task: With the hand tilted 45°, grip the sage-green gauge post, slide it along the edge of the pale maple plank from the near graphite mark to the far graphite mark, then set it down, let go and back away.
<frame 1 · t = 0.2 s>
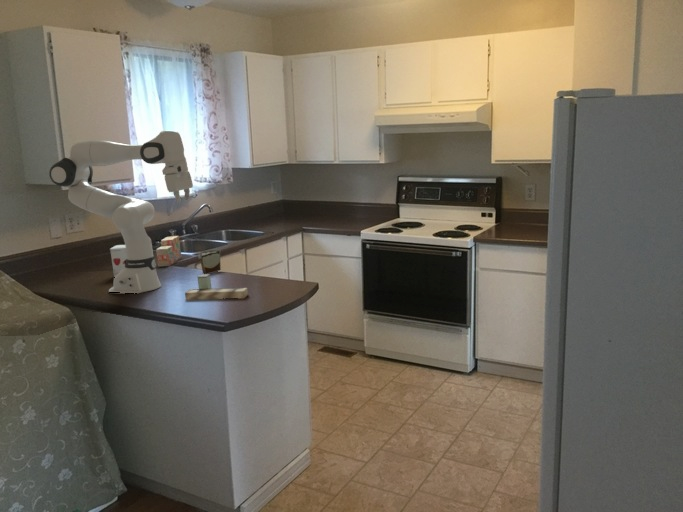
hand: (183, 200, 259), 39 cm above the worktop, tool pointing down, fingers open, 8 cm apart
maple plank: (216, 297, 248), on the worktop
food container: (209, 272, 295), on the worktop
gauge post: (205, 293, 255), on the worktop
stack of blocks: (170, 262, 325), on the worktop
supplement box: (126, 276, 299), on the worktop
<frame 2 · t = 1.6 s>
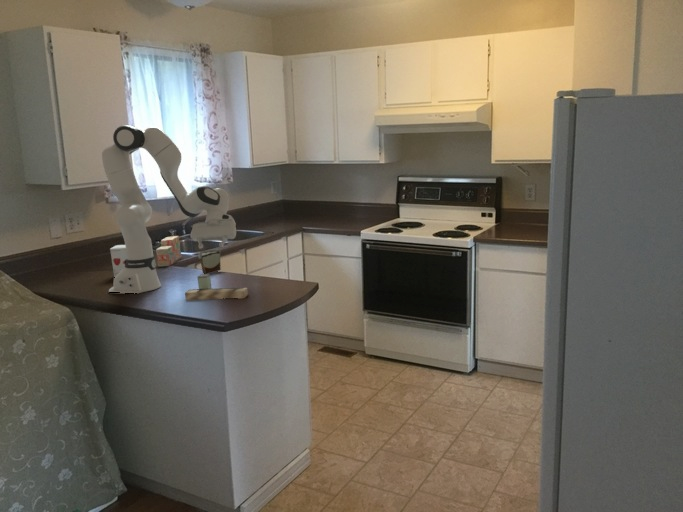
hand: (210, 247, 262), 18 cm above the worktop, tool tilted 45°, fingers open, 8 cm apart
nothing on the worktop moved.
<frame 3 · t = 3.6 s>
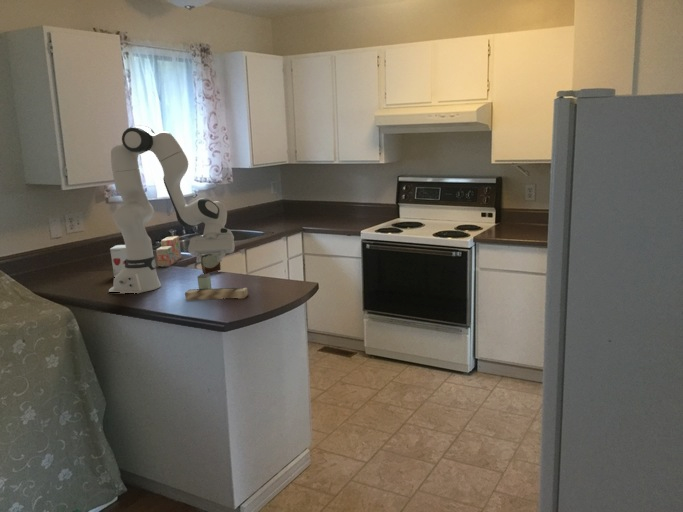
hand: (208, 261, 259), 12 cm above the worktop, tool tilted 45°, fingers open, 8 cm apart
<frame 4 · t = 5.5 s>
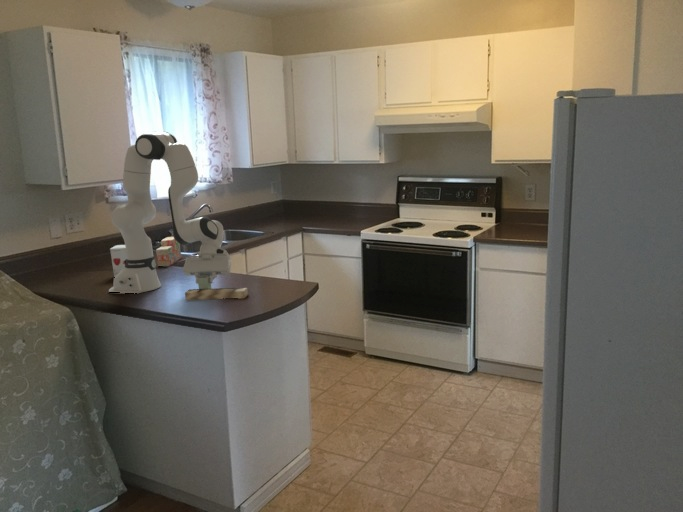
hand: (204, 282, 253), 5 cm above the worktop, tool tilted 45°, fingers closed on gauge post, 4 cm apart
gauge post: (205, 293, 255), on the worktop, touching gripper
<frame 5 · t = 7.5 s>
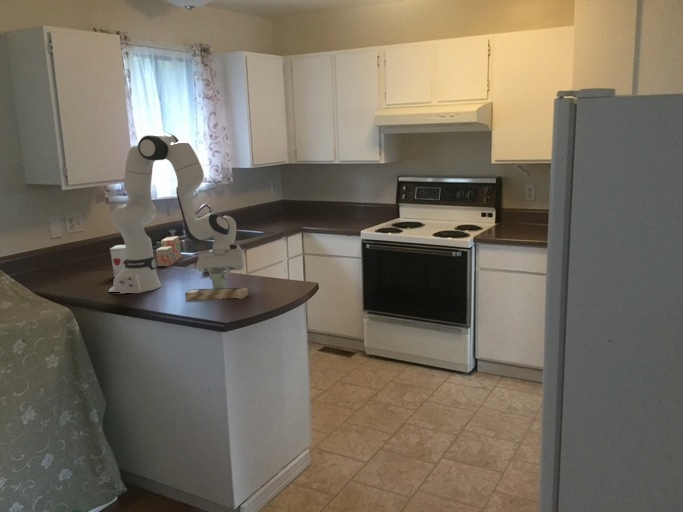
hand: (217, 278, 252), 7 cm above the worktop, tool tilted 45°, fingers closed on gauge post, 4 cm apart
gauge post: (219, 289, 254), point 2 cm above the worktop, touching gripper
when the fingers open (5 cm above the worktop, at t = 9.8 s): gauge post stays where it is, on the worktop.
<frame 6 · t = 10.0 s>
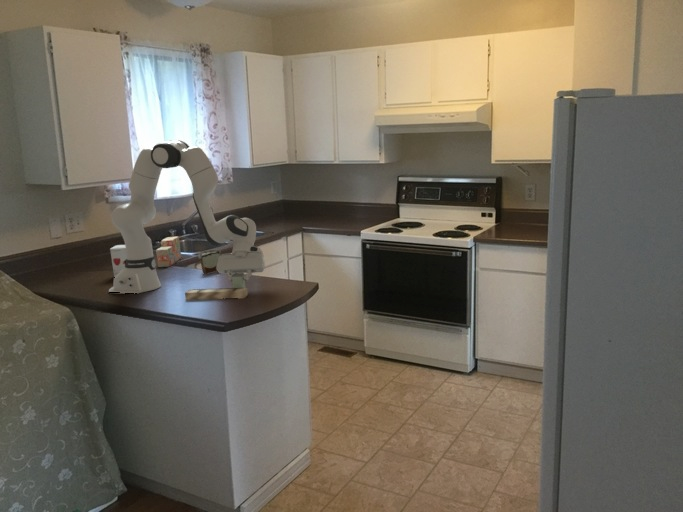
hand: (238, 280, 251), 5 cm above the worktop, tool tilted 45°, fingers open, 5 cm apart
gauge post: (239, 292, 253), on the worktop
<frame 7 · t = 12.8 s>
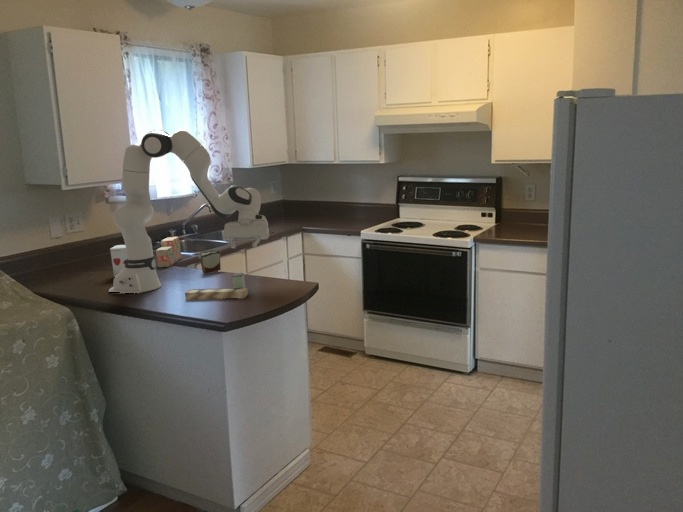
hand: (243, 247, 260), 17 cm above the worktop, tool tilted 45°, fingers open, 8 cm apart
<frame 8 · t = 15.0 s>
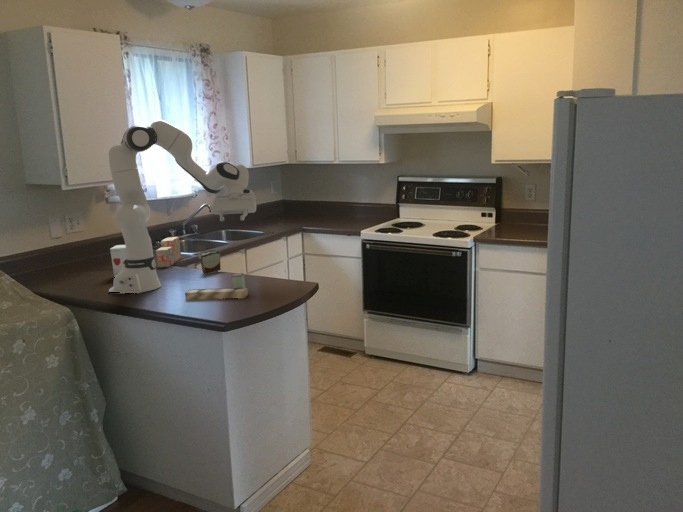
hand: (231, 220, 270), 27 cm above the worktop, tool tilted 45°, fingers open, 8 cm apart
at the end: gauge post 0.1 cm from the target spot, on the worktop; gauge post tilted 0°; the gripper is holding nothing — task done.
